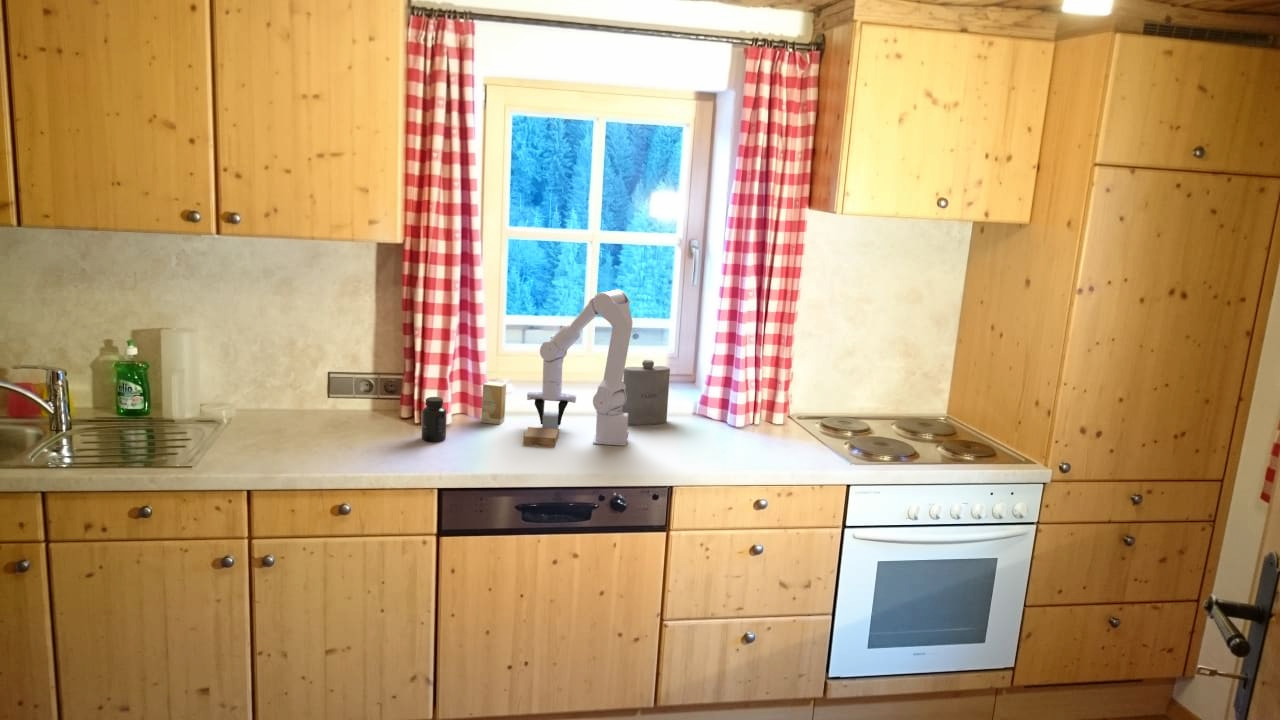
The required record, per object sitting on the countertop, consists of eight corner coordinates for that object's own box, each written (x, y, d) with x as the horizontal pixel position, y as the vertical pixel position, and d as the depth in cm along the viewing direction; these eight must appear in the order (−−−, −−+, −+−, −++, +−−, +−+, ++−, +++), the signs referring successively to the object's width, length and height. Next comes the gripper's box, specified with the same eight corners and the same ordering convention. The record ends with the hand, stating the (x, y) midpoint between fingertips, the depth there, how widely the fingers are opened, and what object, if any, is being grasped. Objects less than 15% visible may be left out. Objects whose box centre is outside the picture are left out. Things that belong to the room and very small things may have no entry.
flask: (624, 426, 290) (628, 363, 286) (619, 420, 295) (622, 359, 291) (669, 424, 295) (673, 362, 291) (663, 418, 300) (667, 358, 296)
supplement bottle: (416, 440, 264) (416, 399, 262) (430, 434, 271) (430, 394, 268) (437, 444, 262) (437, 403, 259) (450, 438, 268) (451, 397, 266)
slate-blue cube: (558, 426, 285) (559, 412, 284) (557, 431, 281) (557, 416, 280) (544, 425, 285) (544, 411, 284) (542, 430, 281) (542, 415, 280)
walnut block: (558, 438, 275) (558, 429, 274) (554, 448, 266) (555, 438, 265) (528, 436, 275) (528, 427, 274) (523, 446, 266) (523, 436, 266)
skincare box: (480, 422, 285) (481, 383, 282) (485, 419, 289) (486, 380, 286) (501, 424, 284) (502, 385, 281) (505, 421, 288) (506, 382, 285)
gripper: (577, 378, 284) (576, 421, 287) (530, 375, 284) (528, 418, 287) (575, 384, 277) (573, 428, 280) (526, 381, 277) (525, 425, 280)
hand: (550, 423), depth 283 cm, fingers closed on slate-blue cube, 4 cm apart
